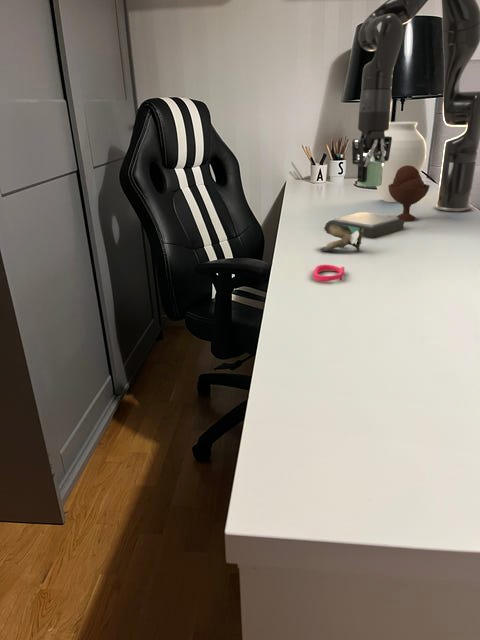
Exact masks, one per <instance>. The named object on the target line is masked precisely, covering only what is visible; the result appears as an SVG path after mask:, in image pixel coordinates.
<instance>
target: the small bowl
mask: <svg viewBox="0 0 480 640" xmlns="http://www.w3.org/2000/svg"><path fill="white" fill-rule="evenodd" d="M382 172H383V162H374V161H371V160H369V162H368V165H367V180H366V182H358V178H356V179H357V181H356V182H357V183H356V184H357V186H359V187H376V186H380V185H381V183H382Z"/></svg>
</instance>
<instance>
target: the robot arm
mask: <svg viewBox="0 0 480 640" xmlns="http://www.w3.org/2000/svg"><path fill="white" fill-rule="evenodd" d="M428 1H429V0H386V1H385V2H384V3H382V4H381V5H380V6H379V7H377V8H376V9H375V10H374V11H373V12H372V13H370V14H369V16H367V17H366V18H365V20H364V21H363V22H362V24H361V26H360V28H359V31H358V43H359V46H360V47H361V48H362V49H363V50H365V51H367V52H374V56H373V58H372V60H371V61H369V62H368V63H366V64H364V67H363V69H362V76H361V91H360V99H359V106H358V107H359V108H358V121H357V122H358V123H357V125H358V126H357V130H358V131H359V132H361V134H360V138H353V139H352V140H351V144H352V145H351V150H352V151H351V152H352V153H351V155H352V158H351V159H352V160H351V161H352V165H355V166H356V167H357V178H356V179H358V182H366V180H367V165H368V162H369V161H370V158H371V157H372V156H373V159H374V162H383V164H384V163H385V161H388V160H389V155H390V148H391V142H392V137H389V136H385V131H387V130H388V129H389V125H390V122H391V112H392V102H393V101H392V99H393V98H392V97H393V96H392V88H393V77H394V75H393V74H394V68H395V66H396V63H397V60H398V56H399V53H400V51H401V46H402V43H403V40H404V33H405V32H404V25H405V24H408V23H409V22H410V21H412V20H413V19H414V18H415V17H416V16H417V14H418V13H419V12H420V11H421V9H422V8H423V7H424V6H425V5H426V4H427V3H428ZM441 14H442V19H441V20H442V24H441V25H442V26H441V27H442V29H441V30H442V31H441V32H442V51H443V52H442V53H443V67H444V68H443V73H444V75H443V97H442V99H443V101H442V116H443V117H442V118H443V121H444V123H445V125H446V126H449V127H466V128H465V131H464V132H463V133H462V134H460V135H458V136H456V137H453V138H451V139H447V140H446V141H445V143H444V146H443V147H444V148H443V155H442V162H441V163H442V164H441V172H440V178H439V179H440V180H439V187H438V195H437V198H436V200H437V203H436V209H437V210H439V211H443V212H444V211H445V212H466V211H469V210H470V203H471V196H472V189H473V182H474V177H475V170H476V165H477V164H476V163H477V156H478V150H479V145H480V90H477V91H476V90H475V91H461V89H460V85H461V84H460V83H461V78H462V75H463V73H464V72H465V70H466V67H467V66H468V64H469V62H470V61H471V60H472V58H473V56H474V55H475V53H476V51H477V49H478V47H479V45H480V7H479V3H478V2H477V0H441ZM385 145H386V146H385ZM385 151H386V154H385ZM384 154H385V156H384ZM378 156H379V157H378Z"/></svg>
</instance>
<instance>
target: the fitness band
mask: <svg viewBox="0 0 480 640" xmlns="http://www.w3.org/2000/svg"><path fill="white" fill-rule="evenodd" d="M323 271H333V272H337V274H333V275H322V274H319V273H320V272H323ZM312 277H313V280H314V281H316V282H322V283H323V282H324V283H325V282H331V281H332V282H333V281H335V280H336V281H337V280H339V281H343V280H344V277H345V267H344V266H341V267H339V266H336V265H332V264H320V265H317V266H316V267H315V268H314V270H313V274H312Z"/></svg>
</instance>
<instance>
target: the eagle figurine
mask: <svg viewBox="0 0 480 640" xmlns="http://www.w3.org/2000/svg"><path fill="white" fill-rule="evenodd" d="M332 220H333V221H331V220H329V221H330V222H329V221H327V222H326V224H324V227H323V229H324V231H325V233H326V234H328V235H330V236H333V237H335V238H339V239H337V240H334V241H331V242H329V243H328V244H326V245H325V246H323V247H322V248H319V251H322V252H329V251H331V250H334V249H345V248H346V246H348V245H349V246H352V247H354V248H355V249H356V251H357V252H358V253H359V252H360V245H362V239H363V231H364V228H363V229H362V231H360V230H359V232H358V231H355V232H354V233H353V234H351V230H350V229H349V227H348V226H345V225H342V224H341V223H339V222H338V221H336V220H335V221H334V219H332Z"/></svg>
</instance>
